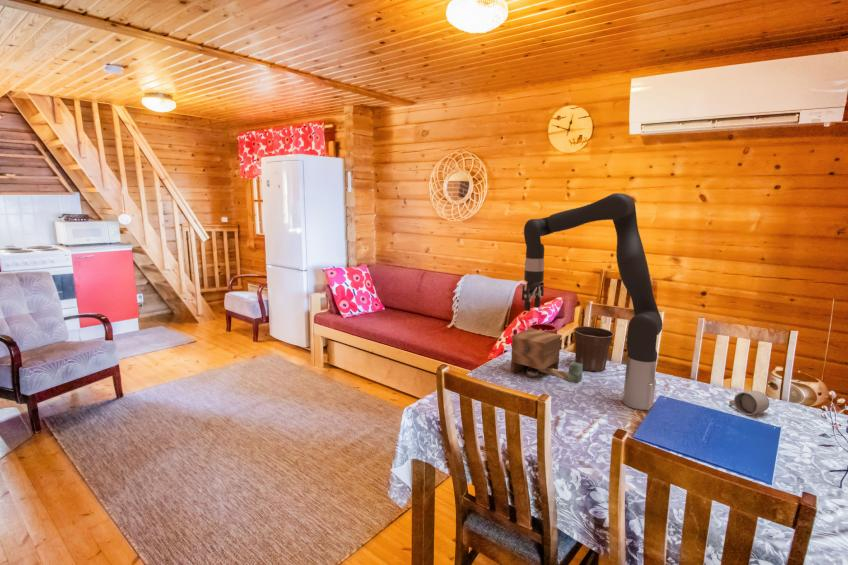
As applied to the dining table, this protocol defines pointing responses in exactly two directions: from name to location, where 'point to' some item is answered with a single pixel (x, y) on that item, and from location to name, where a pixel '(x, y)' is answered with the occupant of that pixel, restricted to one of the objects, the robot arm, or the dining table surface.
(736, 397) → the ceramic mug
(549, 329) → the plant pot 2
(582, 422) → the dining table surface
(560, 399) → the dining table surface
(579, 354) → the plant pot
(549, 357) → the bread box
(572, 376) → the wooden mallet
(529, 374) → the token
